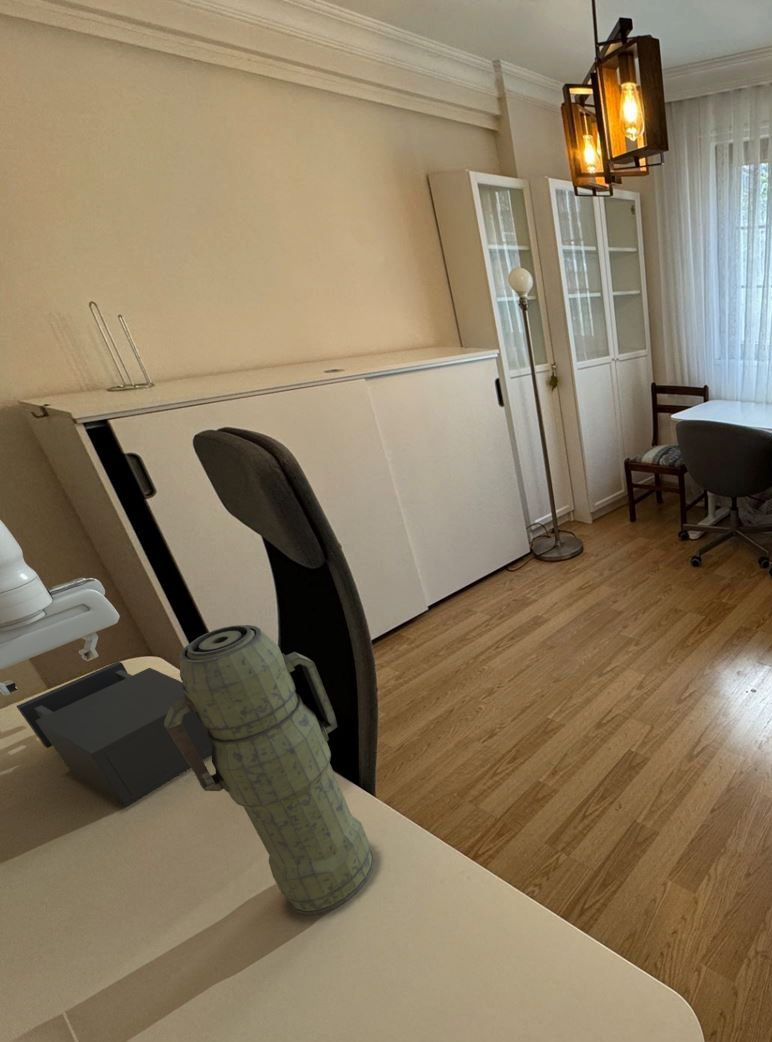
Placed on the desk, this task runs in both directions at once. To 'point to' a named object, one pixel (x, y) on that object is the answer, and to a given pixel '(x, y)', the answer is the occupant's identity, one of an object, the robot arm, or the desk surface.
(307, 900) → the thermos
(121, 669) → the drawer
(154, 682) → the cabinet
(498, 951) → the desk surface
